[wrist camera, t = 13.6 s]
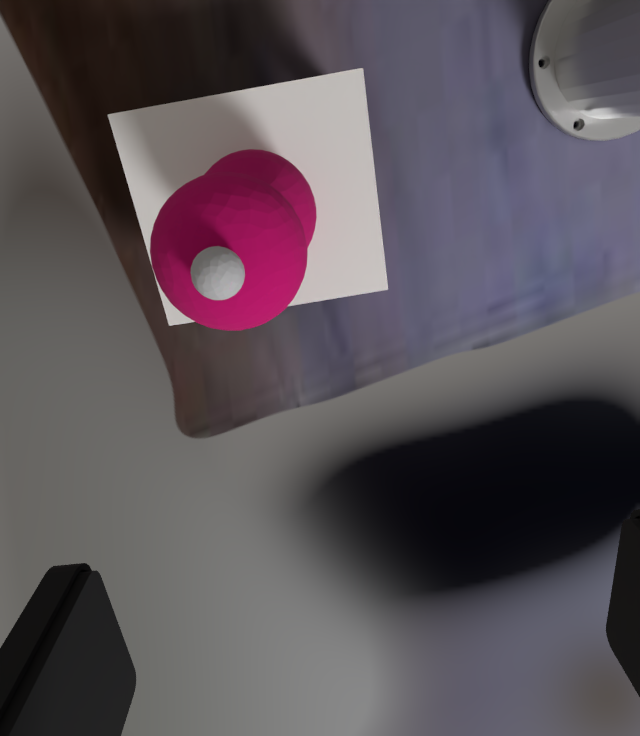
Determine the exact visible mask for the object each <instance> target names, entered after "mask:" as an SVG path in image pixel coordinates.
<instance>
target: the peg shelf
mask: <svg viewBox="0 0 640 736" xmlns="http://www.w3.org/2000/svg"><path fill="white" fill-rule="evenodd" d="M108 118H109V121H110V125H111V128H112V132H113V135H114V138H115V142H116V145H117V149H118V152H119V156H120V159H121V162H122V166H123V169H124V173H125V176H126V179H127V183H128V186H129V190H130V193H131V197H132V200H133V203H134V207H135V210H136V214H137V217H138V220H139V224H140V227H141V231H142V234H143V238H144V241H145V244H146V248H147V251H148V255H149V258H150V261H151V255H150V239H151V234H152V230H153V225H154V222H155V220H156V218H157V216H158V213H159V211H160V209H161V208H162V206H163V205H164V204H165V202H166V201H167V199H168V198H169V197H170V196H171V195H172V194H173V193H174V192H175V191H176V190H177V189H179V188H180V187H182V186H183V185H184V184H186V183H187V182H189V181H191V180H193V179H195V178H197V177H200V176H202V175H204V174H205V173H206V172H207V171H208V170H209V169H210V168H211V166H212V165H213V164H215V163H216V162H217V161H218V160H220V159H221V158H223V157H225V156H227V155H229V154H230V153H234V152H237V151H240V150H248V149H257V150H264V151H269V152H272V153H275V154H277V155H280V156H281V157H283V158H285V159H286V160H288V161H289V162H291V163H292V164H293V165H294V166H295V167H296V168H297V169H298V170H299V171H300V172H301V173H302V174H303V176H304V177H305V179H306V180H307V182H308V184H309V185H310V188H311V190H312V193H313V196H314V199H315V204H316V216H317V218H316V226H315V231H314V234H313V237H312V240H311V242H310V244H309V246H308V256H307V267H306V271H305V275H304V279H303V281H302V283H301V286H300V288H299V290H298V292H297V294H296V295H295V297H294V299H293V300H292V301H291V303H290V304H289V305H288V306H292V305H298V304H304V303H310V302H316V301H322V300H328V299H334V298H340V297H346V296H352V295H358V294H364V293H370V292H376V291H382V290H388V284H387V275H386V267H385V258H384V249H383V240H382V231H381V223H380V214H379V205H378V196H377V188H376V179H375V170H374V161H373V152H372V144H371V135H370V126H369V117H368V109H367V100H366V91H365V82H364V73H363V68H360V69H354V70H349V71H343V72H338V73H332V74H327V75H321V76H316V77H310V78H305V79H299V80H294V81H288V82H283V83H277V84H272V85H267V86H261V87H256V88H250V89H245V90H239V91H234V92H228V93H223V94H217V95H212V96H206V97H201V98H195V99H190V100H184V101H179V102H173V103H168V104H162V105H157V106H151V107H146V108H140V109H135V110H130V111H124V112H119V113H113V114H108ZM151 265H152V262H151ZM153 272H154V271H153ZM154 275H155V273H154ZM155 279H156V276H155ZM156 282H157V285H158V289H159V292H160V296H161V299H162V302H163V306H164V309H165V313H166V316H167V320H168V323H169V326H172V325H178V324H184V323H190V322H195V321H193V320H191V319H190V318H188V317H186V316H185V315H183V314H182V313H181V312H180V311H179V310H178V309H177V308H175V307H174V306H173V305H172V304H171V303H170V301H169V300H168V299H167V297H166V296H165V294H164V293H163V291H162V289H161V287H160V285H159V283H158V281H157V279H156Z"/></svg>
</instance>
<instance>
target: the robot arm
mask: <svg viewBox="0 0 640 736" xmlns="http://www.w3.org/2000/svg"><path fill="white" fill-rule="evenodd" d="M539 60H541V61H542V66H541V67H539V64H538V62H539ZM529 74H530V81H531V88H532V91H533V94H534V97H535V100H536V102H537V104H538V106H539V108H540V109H541V111H542V113H543V115H544V116H545V117H546V118H547V119H548V120H549V121H550V123H551V124H552V125H553V126H555V127H556V128H557V129H559V130H560V131H562V132H563V133H565V134H567V135H570V136H572V137H575V138H577V139H583V140H590V141H606V140H612V139H617V138H621V137H624V136H627V135H629V134H632V133H635V132H637V131H638V130H640V0H549V1H548V2H547V4H546V6H545V8H544V10H543V11H542V13H541V15H540V17H539V20H538V23H537V26H536V28H535V31H534V34H533V38H532V43H531V48H530V57H529ZM574 122H576V127H575V128H574V127H573V125H574ZM606 633H607V638H608V641H609V644H610V647H611V648H612V651H613V652H614V654H615V656H616V658H617V659H618V661H619V663H620V664H621V666H622V667H623V669H624V671H625V673H626V674H627V676H628V678H629V679H630V681H631V683H632V685H633V686H634V688H635V690H636V691H637V693H638V695H639V697H640V509H639V510H634V511H633V512H632V514H631V517H630V519H627V520H624V521H623V524H622V528H621V534H620V541H619V547H618V554H617V560H616V566H615V573H614V579H613V585H612V592H611V599H610V605H609V611H608V617H607V624H606ZM135 686H136V672H135V668H134V666H133V663H132V660H131V657H130V654H129V652H128V649H127V646H126V643H125V641H124V638H123V636H122V633H121V630H120V627H119V625H118V622H117V619H116V616H115V614H114V611H113V608H112V605H111V603H110V600H109V597H108V595H107V592H106V589H105V586H104V583H103V581H102V578H101V575H100V574H99V572H98V571H92V570H91V568H90V566H89V565H87V564H85V563H81V564H71V565H61V566H53V567H51V568H50V569H49V570H48V571H47V572H46V574H45V575H44V577H43V579H42V580H41V582H40V584H39V585H38V587H37V589H36V590H35V592H34V594H33V595H32V597H31V599H30V600H29V602H28V604H27V605H26V607H25V609H24V610H23V612H22V613H21V615H20V617H19V618H18V620H17V622H16V623H15V625H14V627H13V628H12V630H11V632H10V633H9V635H8V637H7V638H6V640H5V642H4V643H3V645H2V646H1V648H0V736H121V733H122V730H123V727H124V724H125V721H126V717H127V714H128V711H129V708H130V705H131V701H132V698H133V695H134V692H135Z"/></svg>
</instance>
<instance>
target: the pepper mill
mask: <svg viewBox="0 0 640 736" xmlns="http://www.w3.org/2000/svg"><path fill="white" fill-rule="evenodd" d="M316 218H317V216H316V204H315V199H314V196H313V193H312V190H311V188H310V185H309V184H308V182H307V180H306V179H305V177H304V176H303V174H302V173H301V172H300V171H299V170H298V169H297V168H296V167H295V166H294V165H293V164H292V163H291V162H289V161H288V160H286V159H285V158H283V157H281V156H280V155H277V154H275V153H272V152H269V151H264V150H257V149H248V150H240V151H237V152H234V153H230V154H229V155H227V156H225V157H223V158H221V159H220V160H218V161H217V162H216V163H215V164H213V165H212V166H211V168H210V169H209V170H208V171H207V172H206V173H205V174H204V175H202V176H200V177H197V178H195V179H193V180H191V181H189V182H187V183H186V184H184V185H183V186H182V187H180V188H179V189H177V190H176V191H175V192H174V193H173V194H172V195H171V196H170V197H169V198H168V199H167V201H166V202H165V204H164V205H163V206H162V208H161V209H160V211H159V213H158V216H157V218H156V220H155V222H154V225H153V230H152V234H151V239H150V255H151V262H152V268H153V271H154V273H155V276H156V279H157V281H158V283H159V285H160V287H161V289H162V291H163V293H164V294H165V296H166V297H167V299H168V300H169V301H170V303H171V304H172V305H173V306H174V307H175V308H177V309H178V310H179V311H180V312H181V313H182V314H183V315H185V316H186V317H188V318H190V319H191V320H193V321H195V322H197V323H199V324H202V325H204V326H207V327H209V328H215V329H220V330H244V329H249V328H253V327H256V326H259V325H262V324H264V323H266V322H268V321H269V320H271V319H272V318H274V317H276V316H277V315H278V314H280V313H281V312H282V311H283V310H284V309H285V308H286V307H287V306H288V305H289V304H290V303H291V301H292V300H293V299H294V297H295V295H296V294H297V292H298V290H299V288H300V286H301V283H302V281H303V279H304V275H305V271H306V267H307V256H308V246H309V244H310V242H311V240H312V237H313V234H314V231H315V226H316Z"/></svg>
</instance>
